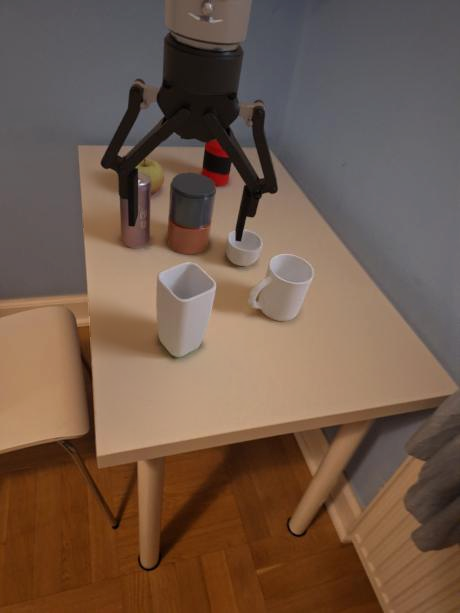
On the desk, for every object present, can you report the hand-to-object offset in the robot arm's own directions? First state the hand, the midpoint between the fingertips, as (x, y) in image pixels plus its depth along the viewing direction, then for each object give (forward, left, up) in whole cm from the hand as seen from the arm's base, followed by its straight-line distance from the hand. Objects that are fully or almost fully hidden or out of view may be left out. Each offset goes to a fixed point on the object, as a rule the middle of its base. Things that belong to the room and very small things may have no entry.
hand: (186, 228), depth 52 cm
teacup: (+10, +28, -25) cm, 38 cm away
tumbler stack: (-2, +30, -24) cm, 39 cm away
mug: (+17, +13, -25) cm, 32 cm away
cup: (+1, +1, -25) cm, 25 cm away
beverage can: (-13, +27, -25) cm, 39 cm away
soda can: (+1, +60, -25) cm, 65 cm away
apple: (-16, +48, -25) cm, 56 cm away
